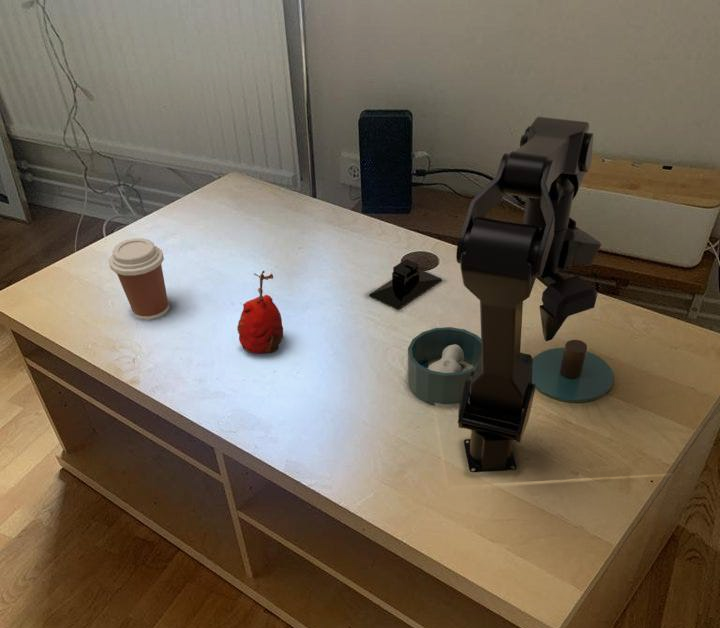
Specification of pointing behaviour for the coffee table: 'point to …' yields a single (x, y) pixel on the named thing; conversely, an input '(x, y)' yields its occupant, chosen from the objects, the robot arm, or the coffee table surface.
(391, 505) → the coffee table surface
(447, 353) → the pale two-lobed sculpture
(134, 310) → the coffee cup
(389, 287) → the build plate
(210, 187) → the coffee table surface
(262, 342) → the red fruit with stem
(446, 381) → the tin
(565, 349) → the tin lid
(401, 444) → the coffee table surface
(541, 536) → the coffee table surface
